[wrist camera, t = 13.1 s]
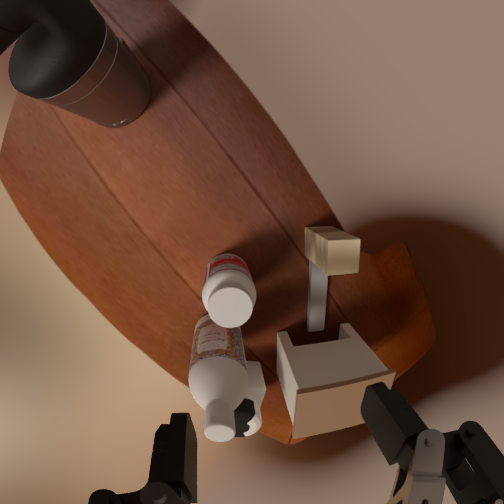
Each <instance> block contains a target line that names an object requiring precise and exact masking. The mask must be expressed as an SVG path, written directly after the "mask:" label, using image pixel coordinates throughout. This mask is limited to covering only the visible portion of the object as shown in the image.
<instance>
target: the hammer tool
mask: <svg viewBox="0 0 504 504" xmlns="http://www.w3.org/2000/svg"><path fill="white" fill-rule="evenodd" d="M359 254H360V239H359V238H357V237H354V236H352V235H350V234H348V233H346V232H344V231H341V230H339V229H337V228H335V227H332V226H320V227H305V256H306V257H307V258H308V259H309V290H308V311H307V330H308V332H314V331H321V330H324V323H325V311H326V298H327V283H328V276H329V275H340V274H351V273H358V268H359Z"/></svg>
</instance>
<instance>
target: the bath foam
mask: <svg viewBox="0 0 504 504" xmlns="http://www.w3.org/2000/svg"><path fill="white" fill-rule="evenodd" d="M188 378H189V387H190V390H191V393H192V396H193V397H194V399H195V401H196V402H197V403H198V404H199V405H200V406H201V407H202V408H203V409H204V410H205V422H204V433H205V435H206V437H207V438H209V439H210V440H212V441H216V442H224V441H228V440H230V439H232V438H233V437H234V436H235V433H236V430H235V419H234V410H235V409H236V408H237V407H238V406H239V405H240V404H241V402H242V401H243V399H244V398H245V395H246V393H247V389H248V379H249V378H248V371H247V365H246V358H245V352H244V345H243V339H242V333H241V328H240V326H238V327H234V328H226V327H222V326H220V325H218V324H216V323H215V322H214V321H213V320H212V319H211V317H210V316H209V314H207V315H205V316H203V317H202V318H201V319H200V320H199V321H198V323H197V324H196V327H195V332H194V338H193V345H192V353H191V360H190V368H189V376H188Z"/></svg>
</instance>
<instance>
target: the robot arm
mask: <svg viewBox="0 0 504 504" xmlns="http://www.w3.org/2000/svg"><path fill="white" fill-rule="evenodd" d="M18 37H19V38H18ZM17 38H18V40H17V42H16V43H15V46H14V48H13V51H12V54H11V57H10V61H9V77H10V81H11V83H12V85H13V86H14V88H15V89H16V90H18V91H19V92H21V93H23V94H25V95H28V96H30V97H33V98H36V99H38V100H41V101H44V102H46V103H49V104H52V105H54V106H57V107H59V108H62V109H64V110H67V111H69V112H72V113H74V114H77V115H79V116H82V117H84V118H86V119H89V120H91V121H93V122H96V123H98V124H100V125H103V126H106V127H110V128H117V127H122V126H125V125H127V124H129V123H131V122H133V121H134V120H135V119H137V118H138V117H139V116H140V115H141V114H142V113H143V111H144V110H145V108H146V106H147V104H148V102H149V99H150V95H151V87H150V82H149V80H148V78H147V77H146V75H145V74H144V72H143V71H142V65H141V64H140V62H139V61H138V60H137V58H136V57H135V55H134V54H133V53H132V51H131V50H130V48H129V47H128V45H127V44H126V43H125V41H124V40H123V39H122V38H118V37H117V36H116V34H115V33H114V32H113V30H112V29H111V28H110V27H109V25H108V24H107V23H106V21H105V20H104V19H103V17H102V16H101V15H100V13H99V12H98V11H97V9H96V8H95V7H94V6H93V4H92V3H91V2H90V0H0V55H1V54H2V53H3V52H4V51H5V50H6V49H7V48H8V47H9V46H10V45H11V44H12V43H13V42H14V41H15V40H16V39H17ZM361 415H362V418H363V420H364V421H365V423H366V425H367V426H368V428H369V430H370V432H371V434H372V435H373V437H374V439H375V441H376V442H377V444H378V446H379V448H380V449H381V451H382V453H383V455H384V456H385V458H386V460H387V462H388V463H389V465H392V464H395V463H397V462H398V464H399V465H400V466H399V468H398V471H397V475H396V479H395V482H394V486H393V489H392V492H391V495H390V499H389V501H388V503H387V504H442V501H443V495H444V490H445V483H446V484H447V486H448V488H449V490H450V492H451V493H452V495H453V497H454V499H455V501H456V502H457V504H504V456H503V454H502V453H501V452H500V450H499V449H498V448H497V446H496V445H495V444H494V442H493V441H492V440H491V438H490V437H489V436H488V434H487V433H486V432H485V431H484V429H483V428H482V427H481V425H479V424H478V423H477V422H474V421H467V422H464V423H463V424H462V425H461V426H460V428H459V429H458V430H456V431H451V432H447V433H441V432H440V431H438V430H435V429H428V427H427V426H426V425H425V424H424V422H423V421H422V420H421V418H420V417H419V416H418V414H417V413H416V412H415V411H414V409H413V408H411V405H410V404H409V403H408V402H407V400H406V399H405V398H404V396H403V395H402V394H401V393H400V392H398V391H396V390H395V389H390V390H389V389H388V387H387V386H386V385H385V383H384V382H378V383H375V384H371V385H368V386H367V387H366V389H365V393H364V397H363V400H362V404H361ZM465 458H466V459H467V460H466V459H465ZM467 461H468V462H467ZM468 463H469V464H470V465H469V464H468ZM470 466H471V467H472V468H471V467H470ZM472 469H473V470H474V471H473V470H472ZM190 503H197V438H196V432H195V429H194V426H193V423H192V420H191V417H190V414H189V413H172V414H171V419H170V424H161V425H160V427H159V428H158V430H157V431H156V433H155V439H154V444H153V452H152V458H151V465H150V472H149V479H148V482H147V484H146V485H145V486H144V487H143V488H142V489H140V490H139V491H136V492H131V493H124V494H115V493H114V492H113V491H110V490H107V489H100V490H97V491H95V492H93V493H92V494H91V496H90V498H89V503H88V504H190Z"/></svg>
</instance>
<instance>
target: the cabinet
mask: <svg viewBox="0 0 504 504" xmlns="http://www.w3.org/2000/svg"><path fill="white" fill-rule="evenodd" d="M277 374H278V378H279V381H280V384H281V388H282V391H283V394H284V397H285V401H286V404H287V407H288V410H289V414H290V417H291V420H292V423H293V432H292V436H293V439H296V438H302V437H307V436H312V435H317V434H322V433H326V432H330V431H335V430H339V429H343V428H347V427H351V426H354V425H358V424H362V423H365V421H364V420H363V418H362V415H361V404H362V400H363V397H364V393H365V389H366V387H367V386H368V385H371V384H375V383H378V382H384V383H385V385H386V386H387V387H388V389H389V390H390V389H391V386H392V383H393V380H394V377H395V374H396V372H395V371H394V369H390V370H388V369H387V368H386V367H385V366H384V364H383V363H382V362H381V361H380V360H379V358H378V357H377V356H376V355H375V354H374V352H373V351H372V350H371V349H370V348H369V346H368V345H367V344H366V343H365V342H364V341H363V339H362V338H361V337H360V336H359V335H358V333H357V332H356V331H355V330H354V329H353V328H352V326H351V325H350V324H349V323H343V324H340V329H339V337H338V340H335V341H329V342H322V343H316V344H309V345H301V346H293V344H292V342H291V340H290V337H289V335H288V333H287V331H282V332H277Z"/></svg>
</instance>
